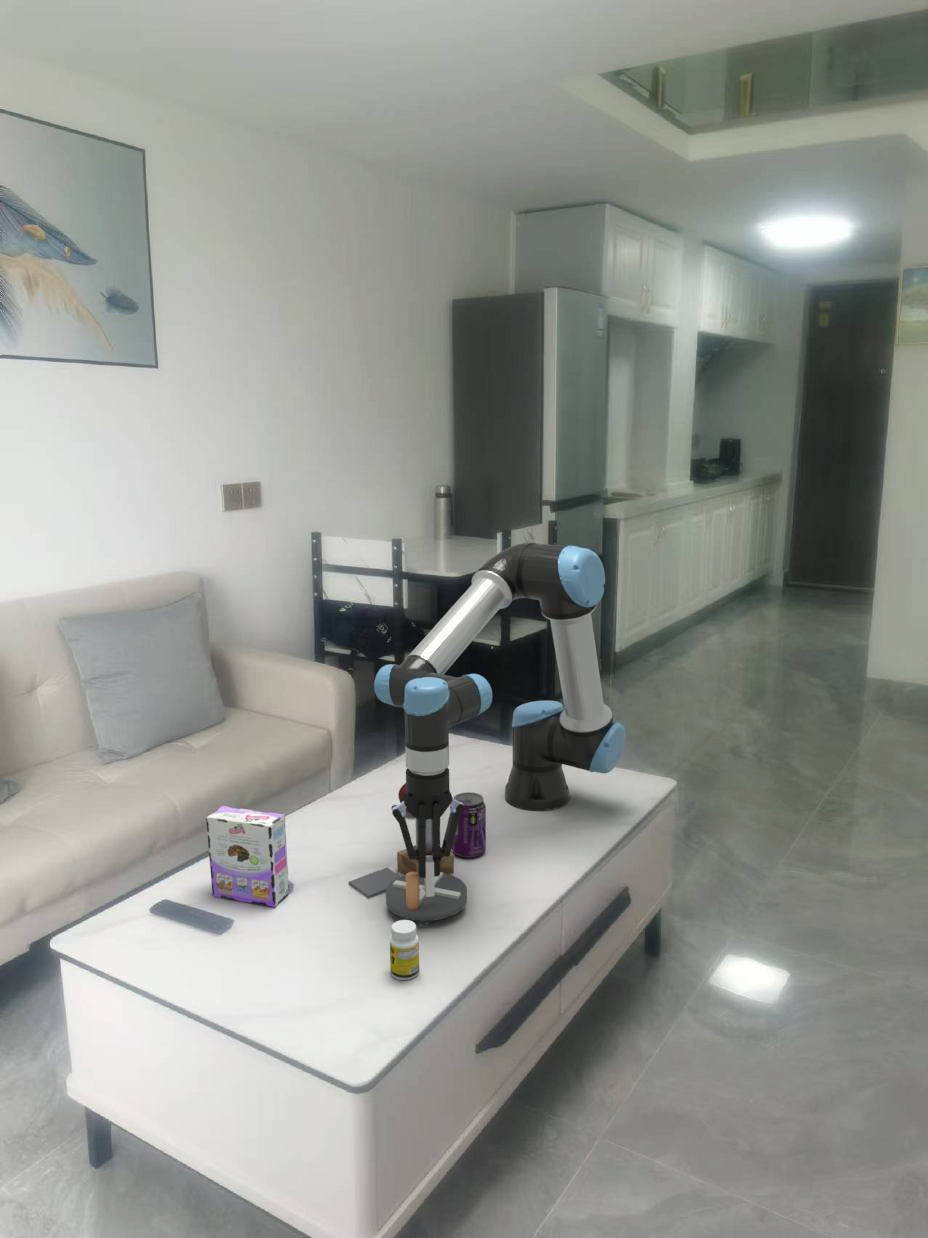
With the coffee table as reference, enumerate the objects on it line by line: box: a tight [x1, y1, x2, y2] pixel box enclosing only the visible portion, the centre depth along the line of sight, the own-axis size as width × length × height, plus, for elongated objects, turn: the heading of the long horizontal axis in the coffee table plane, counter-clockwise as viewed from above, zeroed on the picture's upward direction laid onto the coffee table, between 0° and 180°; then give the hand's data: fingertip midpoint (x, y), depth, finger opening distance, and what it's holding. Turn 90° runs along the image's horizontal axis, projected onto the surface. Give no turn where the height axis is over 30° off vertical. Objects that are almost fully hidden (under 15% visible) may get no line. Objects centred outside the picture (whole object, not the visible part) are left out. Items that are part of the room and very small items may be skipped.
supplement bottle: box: [389, 919, 420, 981], centre depth 150 cm, size 5×5×8 cm
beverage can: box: [451, 791, 487, 859], centre depth 191 cm, size 7×7×12 cm
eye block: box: [396, 844, 455, 875], centre depth 184 cm, size 8×8×4 cm
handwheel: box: [385, 872, 468, 921], centre depth 170 cm, size 15×15×8 cm
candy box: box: [205, 805, 290, 908], centre depth 174 cm, size 14×6×16 cm, turn 71°
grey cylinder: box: [415, 818, 432, 856], centre depth 183 cm, size 4×4×13 cm
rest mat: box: [348, 867, 401, 899], centre depth 179 cm, size 9×7×1 cm
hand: (429, 892), depth 164 cm, fingers closed
